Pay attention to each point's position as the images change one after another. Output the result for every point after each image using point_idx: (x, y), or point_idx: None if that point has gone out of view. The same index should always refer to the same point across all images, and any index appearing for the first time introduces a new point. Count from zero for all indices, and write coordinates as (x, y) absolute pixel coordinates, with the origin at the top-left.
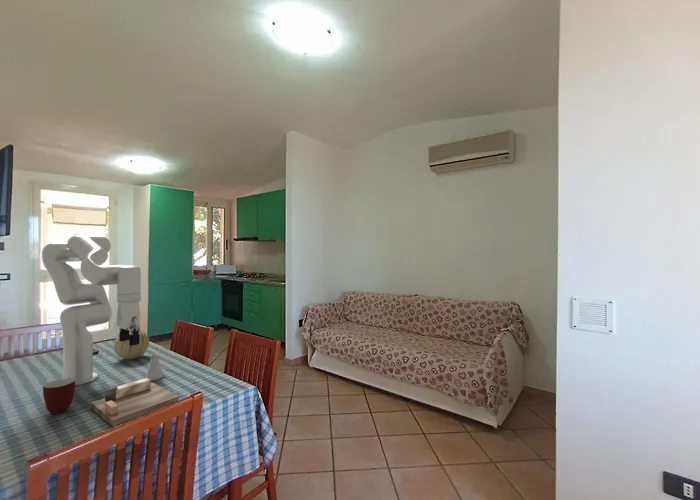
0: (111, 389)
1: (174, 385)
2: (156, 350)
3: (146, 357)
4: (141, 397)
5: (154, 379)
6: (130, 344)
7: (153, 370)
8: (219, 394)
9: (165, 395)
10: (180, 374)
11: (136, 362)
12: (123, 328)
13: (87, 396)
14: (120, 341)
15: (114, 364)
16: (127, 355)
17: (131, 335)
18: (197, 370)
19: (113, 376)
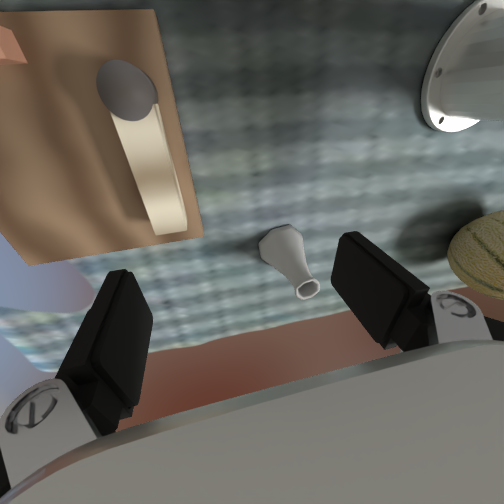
0: (111, 88)
1: (184, 269)
2: (450, 280)
3: (434, 258)
4: (87, 183)
5: (260, 243)
6: (108, 281)
7: (277, 256)
8: (40, 328)
9: (60, 241)
10: (252, 291)
11: (428, 235)
12: (130, 454)
13: (299, 48)
14: (344, 233)
15: (474, 192)
16: (471, 229)
17: (76, 373)
18: (247, 318)
19: (394, 168)
